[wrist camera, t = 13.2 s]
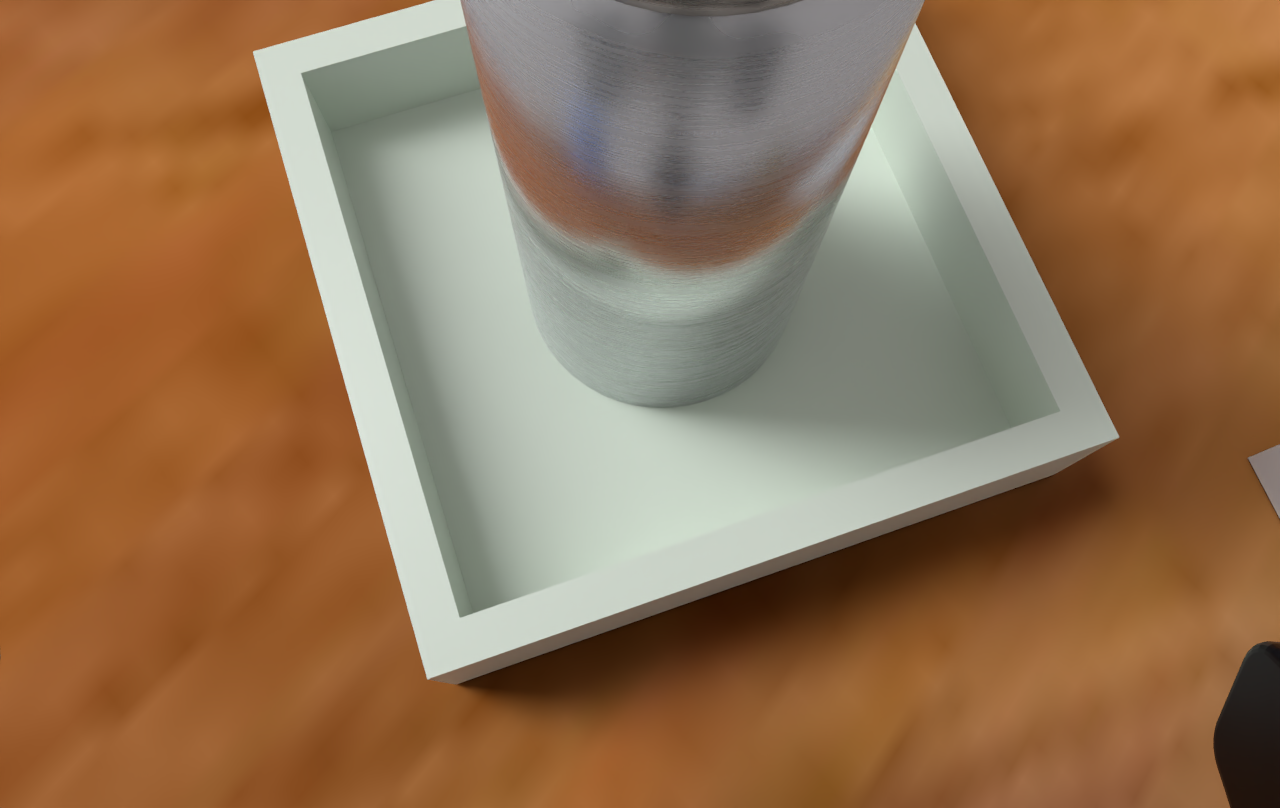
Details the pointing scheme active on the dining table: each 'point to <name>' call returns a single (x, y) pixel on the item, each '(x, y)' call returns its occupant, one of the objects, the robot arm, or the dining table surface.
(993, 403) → the sage bin
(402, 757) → the dining table surface
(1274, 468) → the grey bin
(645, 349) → the brushed metal cylinder
